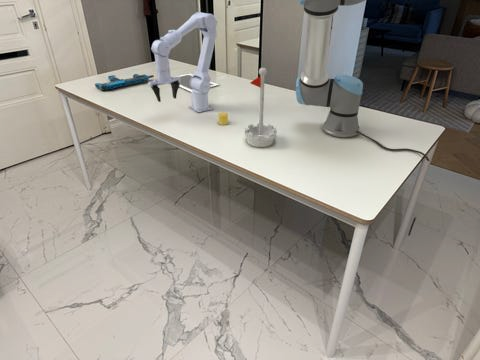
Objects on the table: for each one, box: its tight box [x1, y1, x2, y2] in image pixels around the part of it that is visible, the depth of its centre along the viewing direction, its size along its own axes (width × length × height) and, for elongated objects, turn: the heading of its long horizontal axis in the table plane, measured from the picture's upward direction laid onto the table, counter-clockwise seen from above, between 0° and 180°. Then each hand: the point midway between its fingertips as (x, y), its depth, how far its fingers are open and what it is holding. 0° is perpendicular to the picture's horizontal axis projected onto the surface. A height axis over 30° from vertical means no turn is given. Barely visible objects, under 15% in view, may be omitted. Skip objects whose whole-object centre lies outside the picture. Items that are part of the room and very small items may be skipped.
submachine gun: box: [94, 73, 155, 91], centre depth 208 cm, size 34×4×25 cm
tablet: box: [175, 73, 220, 93], centre depth 208 cm, size 32×20×1 cm, turn 41°
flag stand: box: [244, 67, 278, 148], centre depth 133 cm, size 13×13×30 cm
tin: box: [217, 111, 229, 126], centre depth 156 cm, size 4×4×4 cm
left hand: (167, 99), depth 156 cm, fingers open, 7 cm apart
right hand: (325, 42), depth 165 cm, fingers open, 13 cm apart
